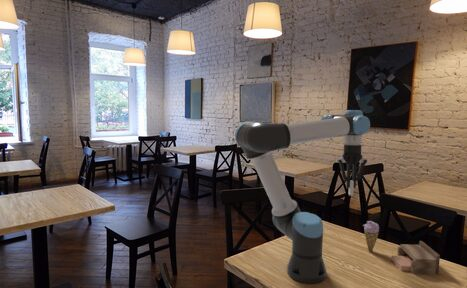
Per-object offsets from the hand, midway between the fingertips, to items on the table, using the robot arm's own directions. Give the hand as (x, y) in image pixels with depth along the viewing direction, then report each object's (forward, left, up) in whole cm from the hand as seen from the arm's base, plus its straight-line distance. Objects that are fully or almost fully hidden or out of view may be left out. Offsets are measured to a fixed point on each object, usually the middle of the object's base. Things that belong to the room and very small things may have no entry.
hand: (350, 194), depth 142 cm
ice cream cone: (+9, -2, -26) cm, 28 cm away
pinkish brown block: (+21, -15, -27) cm, 37 cm away
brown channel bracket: (+24, -14, -26) cm, 38 cm away
